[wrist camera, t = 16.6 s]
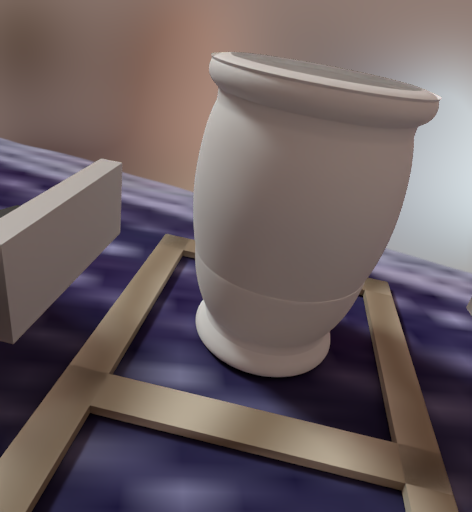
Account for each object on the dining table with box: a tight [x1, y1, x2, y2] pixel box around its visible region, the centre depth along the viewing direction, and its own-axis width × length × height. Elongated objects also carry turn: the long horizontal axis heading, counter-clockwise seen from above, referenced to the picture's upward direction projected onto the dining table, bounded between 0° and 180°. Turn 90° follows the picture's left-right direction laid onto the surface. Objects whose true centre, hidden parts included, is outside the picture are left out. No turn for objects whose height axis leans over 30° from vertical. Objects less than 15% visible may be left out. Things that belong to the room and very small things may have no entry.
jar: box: [193, 52, 442, 377], centre depth 22 cm, size 11×10×15 cm
